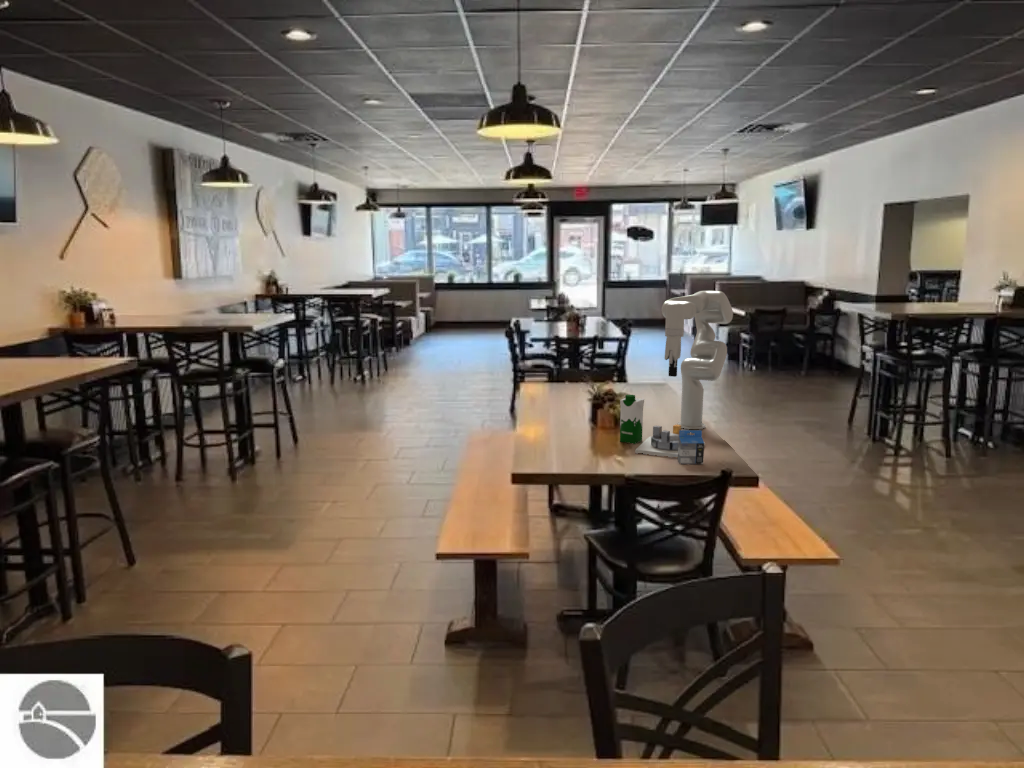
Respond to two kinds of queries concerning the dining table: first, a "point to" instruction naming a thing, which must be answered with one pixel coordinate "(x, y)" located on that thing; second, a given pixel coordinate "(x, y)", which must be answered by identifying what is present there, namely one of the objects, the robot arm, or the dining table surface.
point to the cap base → (651, 450)
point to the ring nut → (665, 438)
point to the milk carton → (631, 419)
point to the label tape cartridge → (690, 447)
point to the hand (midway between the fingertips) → (672, 376)
